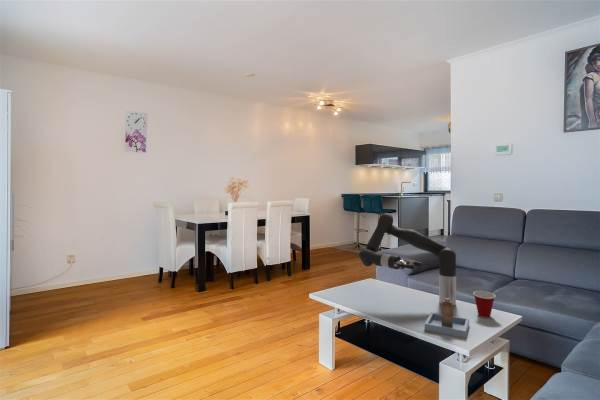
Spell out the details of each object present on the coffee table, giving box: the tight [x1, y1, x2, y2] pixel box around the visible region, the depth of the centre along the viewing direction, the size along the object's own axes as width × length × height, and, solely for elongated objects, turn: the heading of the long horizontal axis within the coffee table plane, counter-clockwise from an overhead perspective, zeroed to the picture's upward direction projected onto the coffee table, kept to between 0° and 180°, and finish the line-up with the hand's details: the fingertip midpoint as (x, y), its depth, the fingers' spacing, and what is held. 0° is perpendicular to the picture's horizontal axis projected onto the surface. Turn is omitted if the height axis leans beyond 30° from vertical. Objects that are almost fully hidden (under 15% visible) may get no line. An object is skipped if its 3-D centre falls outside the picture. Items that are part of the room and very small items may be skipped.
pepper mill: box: [441, 298, 454, 328], centre depth 166 cm, size 5×5×14 cm
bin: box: [424, 312, 470, 339], centre depth 166 cm, size 18×18×3 cm
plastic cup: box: [472, 290, 497, 318], centre depth 182 cm, size 11×11×12 cm
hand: (417, 265), depth 178 cm, fingers open, 8 cm apart
